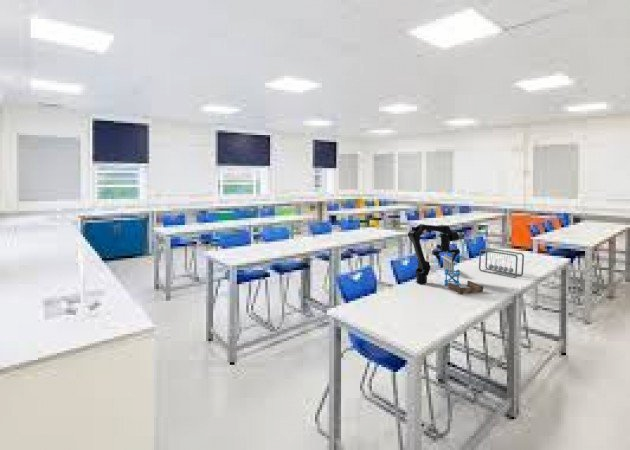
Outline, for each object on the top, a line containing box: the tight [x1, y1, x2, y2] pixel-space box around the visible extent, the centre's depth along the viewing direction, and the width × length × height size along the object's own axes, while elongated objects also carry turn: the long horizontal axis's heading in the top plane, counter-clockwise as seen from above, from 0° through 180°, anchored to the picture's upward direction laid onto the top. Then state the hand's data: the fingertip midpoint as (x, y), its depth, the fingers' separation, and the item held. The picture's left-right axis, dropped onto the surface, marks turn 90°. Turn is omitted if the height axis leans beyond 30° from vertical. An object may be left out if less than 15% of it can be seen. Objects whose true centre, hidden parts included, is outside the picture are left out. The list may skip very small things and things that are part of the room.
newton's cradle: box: [478, 247, 525, 279], centre depth 292 cm, size 30×10×18 cm, turn 35°
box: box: [447, 280, 484, 295], centre depth 250 cm, size 16×14×4 cm
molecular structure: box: [444, 269, 461, 287], centre depth 264 cm, size 10×10×10 cm
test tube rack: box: [440, 253, 458, 278], centre depth 297 cm, size 25×4×13 cm, turn 179°
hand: (446, 263), depth 274 cm, fingers open, 9 cm apart
